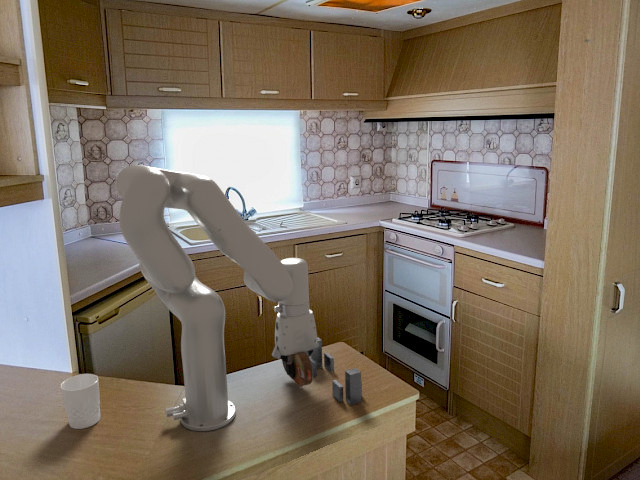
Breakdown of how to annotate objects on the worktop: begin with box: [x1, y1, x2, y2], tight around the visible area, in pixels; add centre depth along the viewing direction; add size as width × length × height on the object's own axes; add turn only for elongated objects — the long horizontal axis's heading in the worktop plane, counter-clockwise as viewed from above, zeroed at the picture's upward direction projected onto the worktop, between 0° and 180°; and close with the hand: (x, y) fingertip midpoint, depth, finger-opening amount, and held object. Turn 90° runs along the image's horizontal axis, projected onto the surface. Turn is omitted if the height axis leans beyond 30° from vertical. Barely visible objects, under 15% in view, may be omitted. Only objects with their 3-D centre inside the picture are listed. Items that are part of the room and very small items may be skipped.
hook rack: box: [309, 336, 363, 406], centre depth 134 cm, size 6×23×8 cm, turn 26°
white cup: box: [59, 373, 102, 430], centre depth 119 cm, size 8×8×10 cm
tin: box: [281, 352, 313, 388], centre depth 132 cm, size 15×3×8 cm, turn 26°
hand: (297, 374), depth 133 cm, fingers closed on tin, 2 cm apart
